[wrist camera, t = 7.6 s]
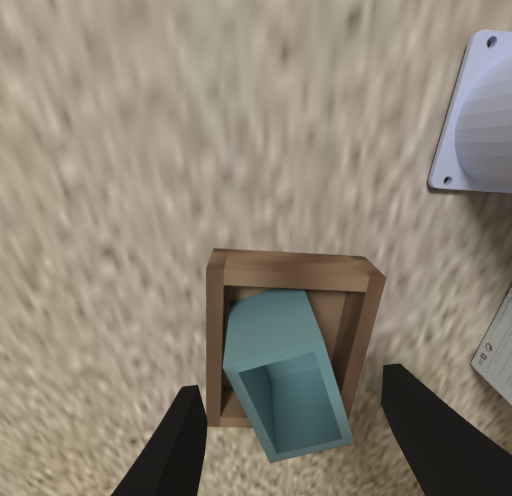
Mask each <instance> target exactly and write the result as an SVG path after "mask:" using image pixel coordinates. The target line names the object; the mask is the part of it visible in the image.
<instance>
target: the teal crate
mask: <svg viewBox="0 0 512 496" xmlns="http://www.w3.org/2000/svg"><path fill="white" fill-rule="evenodd" d="M223 369H224V371H225V373H226V375H227V377H228V379H229V381H230V383H231V385H232V387H233V389H234V391H235V393H236V395H237V397H238V399H239V401H240V403H241V405H242V407H243V409H244V411H245V413H246V415H247V417H248V419H249V421H250V423H251V425H252V427H253V429H254V431H255V433H256V435H257V437H258V439H259V441H260V443H261V445H262V447H263V449H264V451H265V453H266V455H267V457H268V459H269V461H270V463H272V462H276V461H281V460H285V459H289V458H293V457H297V456H302V455H306V454H310V453H314V452H318V451H323V450H327V449H331V448H335V447H340V446H344V445H348V444H352V443H355V442H354V439H353V436H352V432H351V429H350V426H349V423H348V419H347V416H346V413H345V409H344V406H343V403H342V399H341V396H340V393H339V390H338V386H337V383H336V380H335V376H334V373H333V370H332V366H331V363H330V360H329V357H328V353H327V350H326V347H325V343H324V340H323V337H322V335H321V332H320V329H319V327H318V324H317V321H316V319H315V316H314V313H313V311H312V308H311V306H310V303H309V300H308V298H307V295H306V292H305V290H304V289H295V288H274V289H271V290H268V291H264V292H261V293H258V294H255V295H251V296H248V297H245V298H241V299H238V300H235V301H232V302H231V304H230V312H229V320H228V328H227V336H226V344H225V352H224V360H223Z"/></svg>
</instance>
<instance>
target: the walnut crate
mask: <svg viewBox="0 0 512 496" xmlns="http://www.w3.org/2000/svg"><path fill="white" fill-rule="evenodd" d="M385 281H386V277H385V276H384V275H383V274H382V273H381V272H380V271H379V270H378V269H377V268H376V267H375V266H374V265H373V264H372V263H370V262H369V261H368V260H367V259H366V258H365V257H361V256H343V255H325V254H306V253H288V252H270V251H252V250H233V249H215V248H214V249H213V252H212V254H211V257H210V260H209V263H208V266H207V268H206V417H207V420H208V424H207V426H208V427H246V428H253V427H252V425H251V423H250V421H249V419H248V417H247V415H246V413H245V411H244V409H243V407H242V405H241V403H240V401H239V399H238V397H237V395H236V393H235V391H234V389H233V387H232V385H231V383H230V381H229V379H228V377H227V375H226V373H225V371H224V369H223V360H224V352H225V344H226V336H227V328H228V320H229V312H230V304H231V302H232V301H235V300H238V299H241V298H245V297H248V296H251V295H255V294H258V293H261V292H264V291H268V290H271V289H274V288H295V289H304V290H305V292H306V295H307V298H308V300H309V303H310V306H311V308H312V311H313V313H314V316H315V319H316V321H317V324H318V327H319V329H320V332H321V335H322V337H323V340H324V343H325V347H326V350H327V353H328V357H329V360H330V363H331V366H332V370H333V373H334V376H335V380H336V383H337V386H338V390H339V393H340V396H341V399H342V403H343V406H344V409H345V413H346V416H347V419H348V417H349V414H350V410H351V406H352V403H353V399H354V395H355V392H356V388H357V384H358V381H359V377H360V373H361V370H362V366H363V362H364V359H365V355H366V351H367V348H368V344H369V340H370V337H371V333H372V329H373V325H374V322H375V318H376V314H377V311H378V307H379V303H380V300H381V296H382V292H383V289H384V285H385Z"/></svg>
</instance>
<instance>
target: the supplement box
mask: <svg viewBox="0 0 512 496" xmlns="http://www.w3.org/2000/svg"><path fill="white" fill-rule="evenodd" d="M471 365H472V366H473V367H474V368H475V369H476V371H477V372H478V373H479V374H480V375H481V376H482V377H483V378H484V379H485V380H486V381H487V382H488V383H489V384H490V385H491V386H492V387H493V388H495V389H496V390H497V391H498V392H499V393H500V394H501V395H502V396H503V397H504V398H505V399H506V400H507V401H508V403H509V404H510V405H511V406H512V286H511V288H510V290H509V292H508V294H507V296H506V297H505V299H504V301H503V303H502V305H501V307H500V309H499V311H498V312H497V314H496V316H495V318H494V320H493V322H492V324H491V325H490V327H489V329H488V331H487V333H486V335H485V337H484V339H483V340H482V342H481V344H480V346H479V348H478V350H477V352H476V354H475V356H474V358H473V359H472V361H471Z"/></svg>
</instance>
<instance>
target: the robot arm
mask: <svg viewBox="0 0 512 496" xmlns="http://www.w3.org/2000/svg"><path fill="white" fill-rule="evenodd" d="M488 39H489V40H490V41H491V45H490V47H489V48H488V47H487V41H488ZM446 177H447V178H448V181H447V182H446V183H445V184H444V183H443V182H444V179H445V178H446ZM428 184H429V186H430V187H433V188H437V189H452V190H467V191H482V192H497V193H512V32H505V31H495V30H481V31H479V32H477V33H475V34H474V35H473V36H472V37H471V38H470V40H469V42H468V45H467V48H466V52H465V55H464V59H463V62H462V66H461V69H460V72H459V76H458V79H457V83H456V86H455V90H454V93H453V96H452V100H451V103H450V107H449V110H448V114H447V117H446V120H445V124H444V127H443V131H442V134H441V138H440V141H439V144H438V148H437V151H436V155H435V158H434V162H433V165H432V168H431V172H430V175H429V179H428ZM381 405H382V407H383V410H384V412H385V415H386V418H387V420H388V422H389V425H390V427H391V430H392V432H393V434H394V436H395V438H396V440H397V442H398V444H399V446H400V448H401V450H402V452H403V454H404V456H405V458H406V460H407V461H408V463H409V465H410V467H411V469H412V471H413V473H414V475H415V477H416V479H417V480H418V482H419V484H420V486H421V488H422V490H423V492H424V494H425V496H512V455H510V454H509V453H508V452H506V451H505V450H504V449H502V448H501V447H500V446H498V445H497V444H496V443H494V442H493V441H492V440H491V439H489V438H488V437H487V436H485V435H484V434H483V433H481V432H480V431H479V430H478V429H476V428H475V427H474V426H473V425H471V424H470V423H469V422H468V421H466V420H465V419H464V418H463V417H461V416H460V415H459V414H458V413H457V412H455V411H454V410H453V409H452V408H451V407H449V406H448V405H447V404H446V403H445V402H443V401H442V400H441V399H440V398H439V397H438V396H436V395H435V394H434V393H433V392H432V391H431V390H429V389H428V388H427V387H426V386H425V385H424V384H423V383H421V382H420V381H419V380H418V379H417V378H416V377H415V376H414V375H412V374H411V373H410V372H409V371H408V370H407V369H406V368H405V367H403V366H402V365H401V364H390V365H384V367H383V382H382V397H381ZM207 424H208V420H207V417H206V413H205V409H204V406H203V402H202V398H201V395H200V391H199V388H198V385H193V386H184V387H182V388H181V389H180V391H179V392H178V394H177V396H176V397H175V399H174V401H173V403H172V404H171V406H170V408H169V409H168V411H167V413H166V414H165V416H164V418H163V419H162V421H161V423H160V424H159V426H158V427H157V429H156V431H155V432H154V434H153V435H152V437H151V438H150V440H149V441H148V443H147V445H146V446H145V448H144V449H143V451H142V452H141V454H140V455H139V456H138V458H137V459H136V461H135V462H134V464H133V465H132V467H131V468H130V469H129V471H128V472H127V474H126V475H125V477H124V478H123V479H122V481H121V482H120V484H119V485H118V486H117V488H116V489H115V490H114V492H113V493H112V494H111V496H197V493H198V488H199V482H200V477H201V472H202V466H203V461H204V455H205V447H206V437H207Z"/></svg>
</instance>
